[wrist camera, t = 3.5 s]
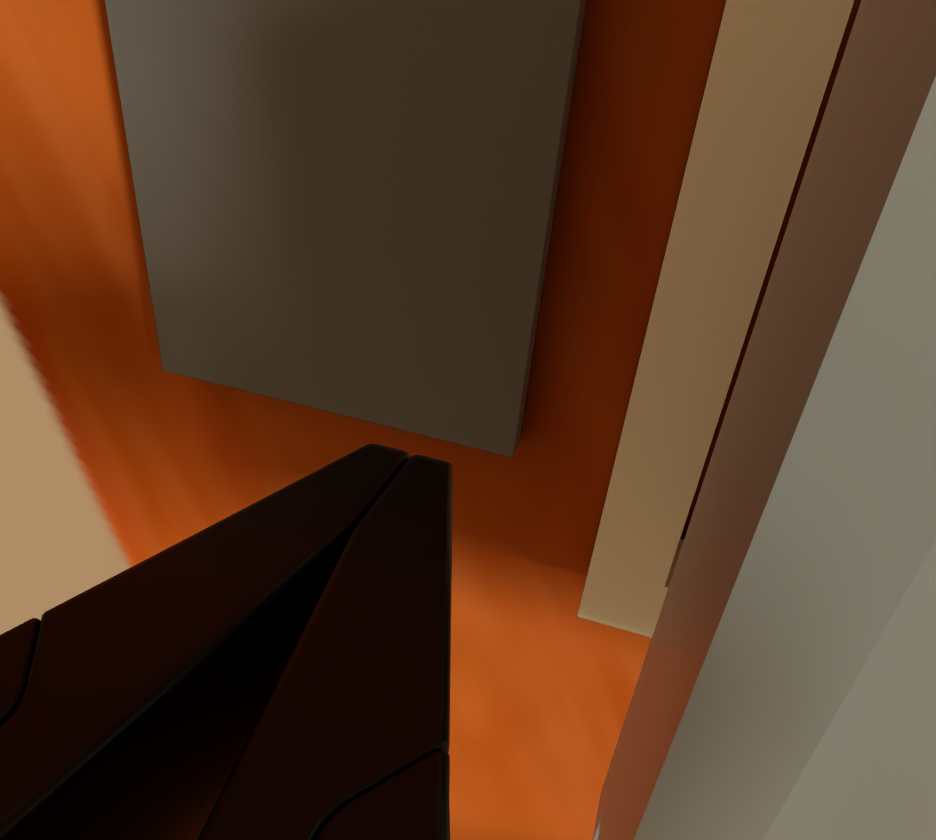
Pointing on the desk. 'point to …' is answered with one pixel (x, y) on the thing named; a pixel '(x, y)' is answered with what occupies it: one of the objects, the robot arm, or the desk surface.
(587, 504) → the desk surface
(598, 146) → the desk surface
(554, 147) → the mat
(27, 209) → the desk surface
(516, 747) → the desk surface
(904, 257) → the cover
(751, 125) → the white flat frame
